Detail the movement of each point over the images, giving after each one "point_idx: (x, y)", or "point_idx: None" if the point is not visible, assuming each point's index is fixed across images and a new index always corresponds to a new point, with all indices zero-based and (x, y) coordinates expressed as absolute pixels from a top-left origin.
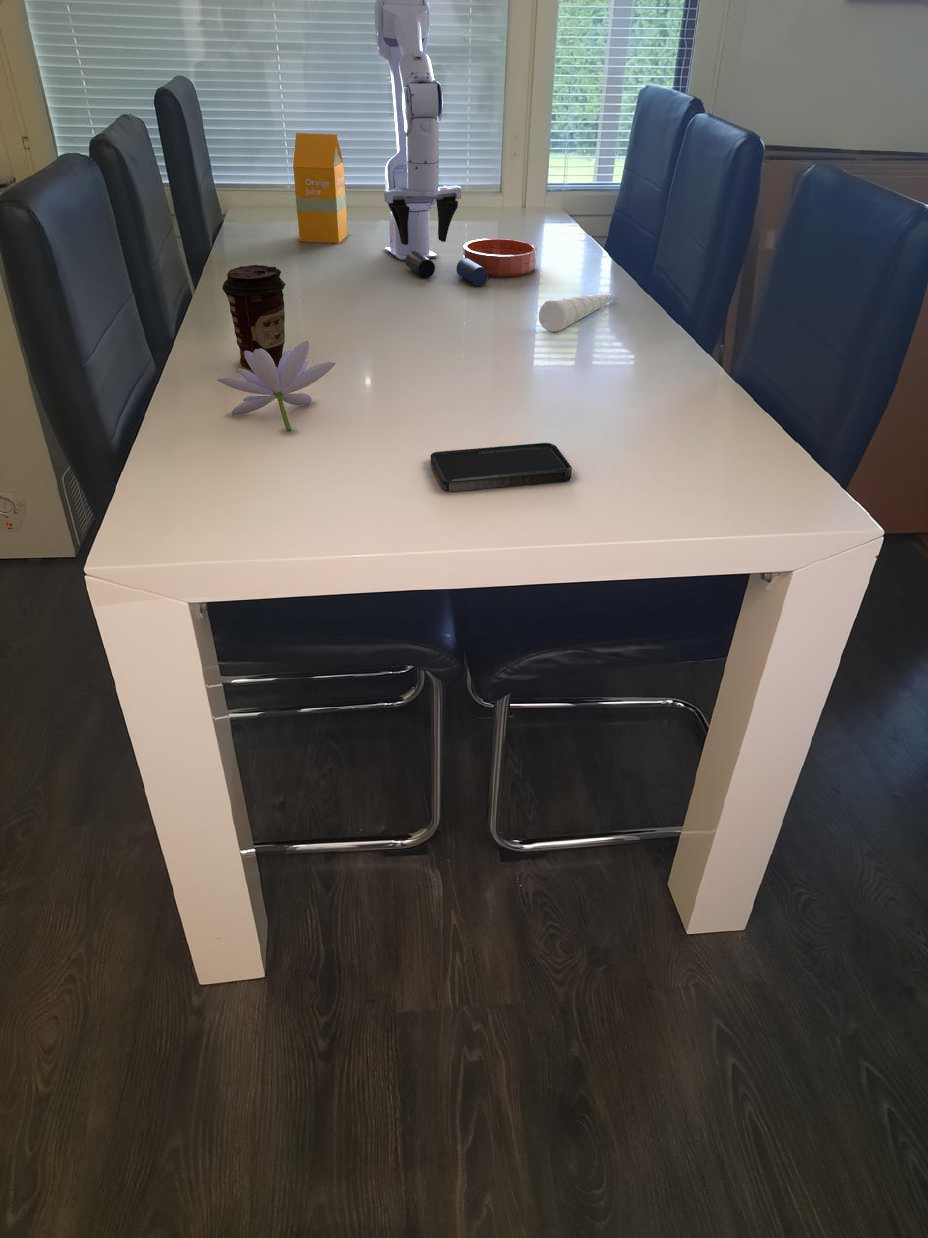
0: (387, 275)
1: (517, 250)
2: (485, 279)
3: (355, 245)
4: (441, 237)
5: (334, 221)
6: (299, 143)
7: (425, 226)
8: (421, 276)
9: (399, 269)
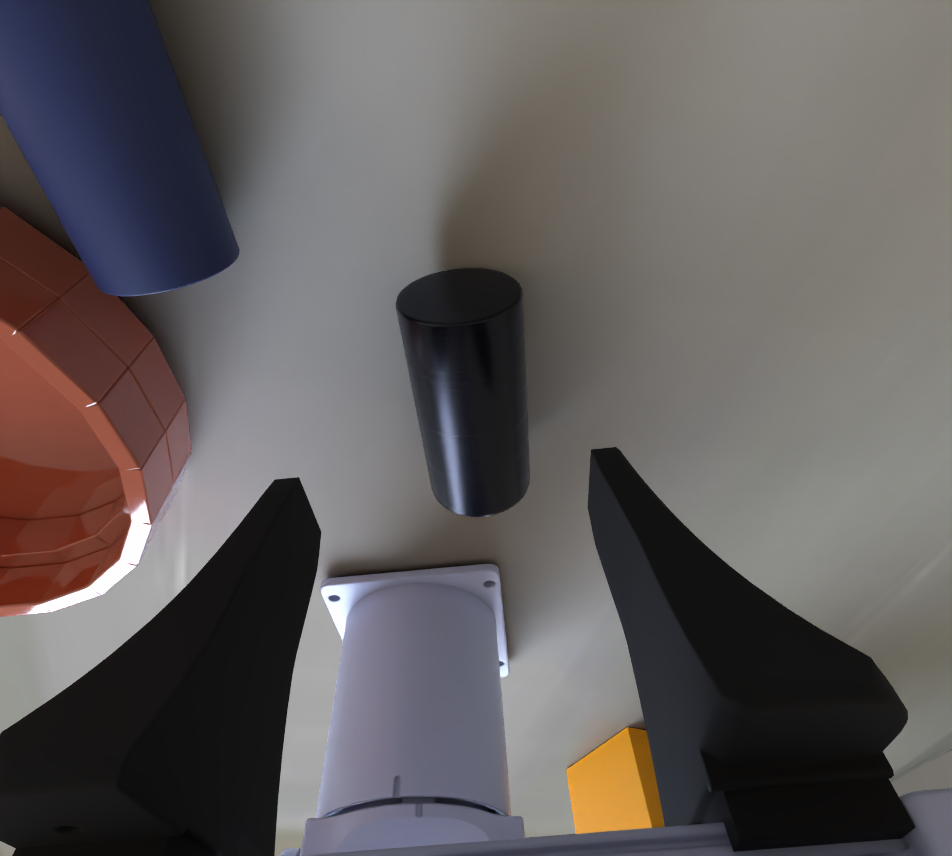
0: (659, 371)
1: None
2: None
3: (586, 709)
4: (299, 512)
5: (654, 803)
6: None
7: (357, 716)
8: (495, 271)
9: (551, 456)
